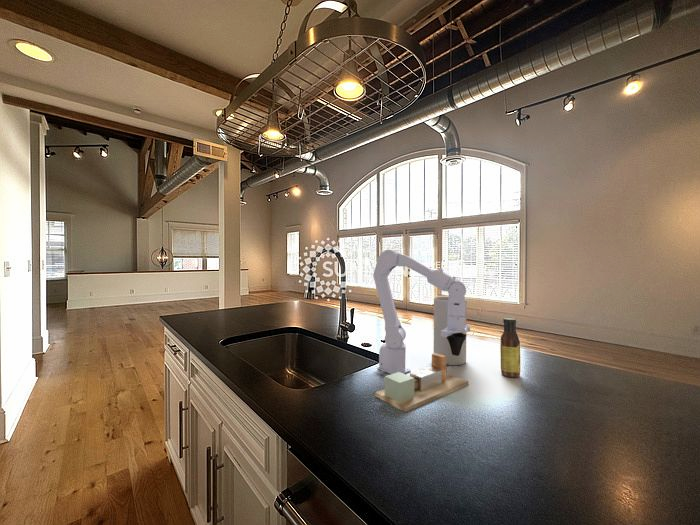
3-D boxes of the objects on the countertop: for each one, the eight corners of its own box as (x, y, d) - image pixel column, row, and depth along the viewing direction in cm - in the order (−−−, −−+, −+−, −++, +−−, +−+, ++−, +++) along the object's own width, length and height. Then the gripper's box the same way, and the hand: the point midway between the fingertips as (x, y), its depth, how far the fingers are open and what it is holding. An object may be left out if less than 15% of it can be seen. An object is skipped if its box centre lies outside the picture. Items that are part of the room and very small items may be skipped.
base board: (374, 396, 91) (375, 392, 91) (437, 373, 109) (437, 370, 109) (405, 412, 81) (405, 407, 81) (468, 384, 100) (468, 381, 100)
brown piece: (394, 392, 90) (394, 364, 90) (435, 377, 102) (435, 353, 102) (404, 396, 87) (404, 368, 87) (445, 380, 99) (446, 356, 99)
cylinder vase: (427, 357, 128) (428, 297, 128) (453, 354, 131) (453, 296, 131) (445, 367, 116) (446, 301, 116) (473, 364, 120) (473, 300, 119)
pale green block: (384, 394, 89) (384, 376, 89) (398, 389, 93) (399, 371, 93) (399, 402, 84) (399, 382, 84) (414, 396, 88) (414, 377, 88)
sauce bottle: (524, 378, 105) (524, 320, 105) (505, 378, 105) (506, 320, 105) (514, 371, 112) (514, 317, 112) (496, 371, 112) (497, 317, 112)
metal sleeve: (409, 387, 94) (409, 373, 94) (430, 379, 101) (430, 366, 101) (421, 392, 91) (421, 377, 91) (441, 384, 97) (441, 370, 97)
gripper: (454, 319, 98) (453, 362, 98) (478, 315, 107) (477, 354, 107) (435, 316, 103) (435, 356, 104) (460, 312, 112) (459, 349, 112)
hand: (455, 354), depth 106 cm, fingers closed
